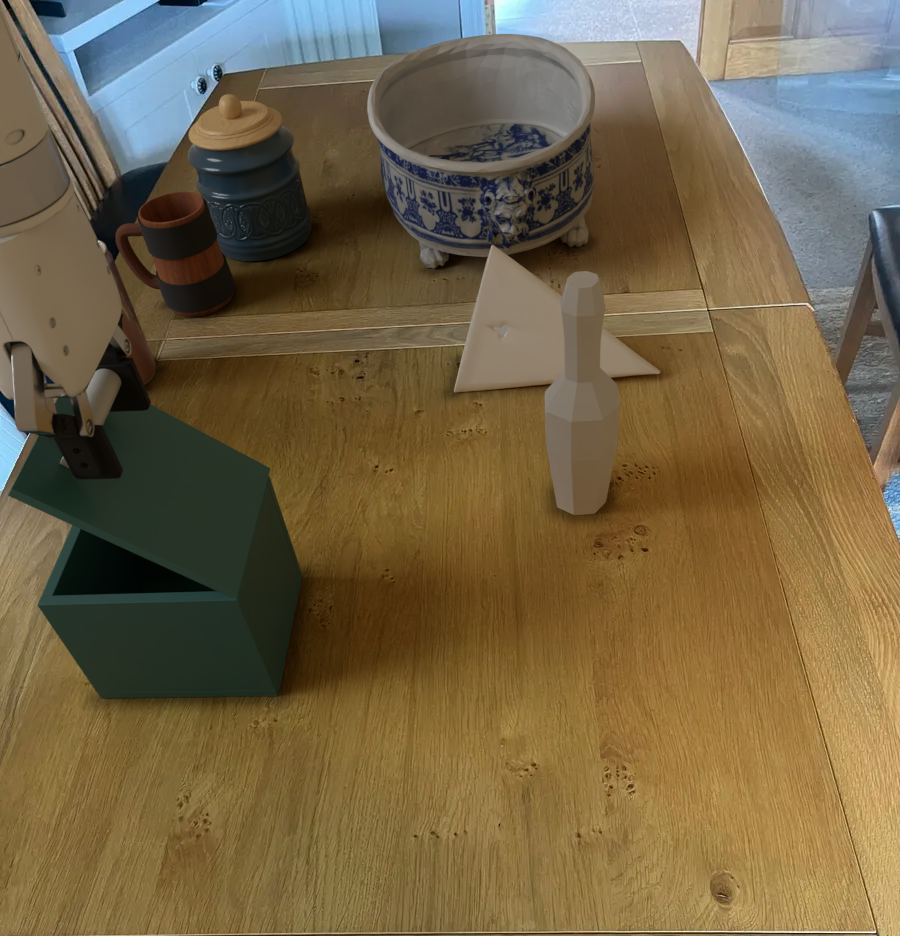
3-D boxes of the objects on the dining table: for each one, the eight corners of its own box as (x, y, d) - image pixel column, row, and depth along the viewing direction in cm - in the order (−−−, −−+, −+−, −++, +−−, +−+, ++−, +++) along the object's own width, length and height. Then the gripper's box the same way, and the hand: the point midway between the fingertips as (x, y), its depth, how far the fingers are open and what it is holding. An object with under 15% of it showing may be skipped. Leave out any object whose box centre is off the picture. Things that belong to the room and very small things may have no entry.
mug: (148, 285, 117) (113, 194, 108) (242, 277, 116) (214, 185, 107) (133, 324, 112) (95, 232, 103) (231, 316, 111) (201, 222, 102)
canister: (288, 268, 117) (251, 122, 103) (198, 259, 120) (151, 117, 107) (329, 215, 124) (300, 73, 111) (243, 209, 128) (205, 70, 114)
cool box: (100, 698, 76) (36, 605, 67) (142, 580, 84) (90, 482, 75) (278, 696, 74) (237, 600, 65) (302, 575, 82) (269, 475, 73)
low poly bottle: (606, 528, 82) (615, 308, 66) (537, 515, 84) (528, 298, 68) (623, 480, 86) (635, 260, 69) (556, 469, 88) (553, 252, 71)
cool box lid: (7, 495, 58) (31, 447, 55) (71, 371, 67) (95, 323, 63) (233, 598, 65) (266, 561, 62) (265, 473, 73) (296, 435, 70)
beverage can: (113, 362, 107) (58, 240, 96) (163, 359, 106) (114, 235, 95) (99, 395, 103) (40, 271, 92) (151, 392, 103) (98, 266, 91)
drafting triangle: (679, 287, 96) (493, 235, 94) (688, 300, 90) (491, 245, 89) (629, 423, 103) (456, 376, 102) (635, 442, 98) (453, 393, 97)
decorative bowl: (634, 277, 108) (641, 145, 96) (407, 318, 107) (387, 190, 95) (550, 125, 135) (548, 8, 124) (369, 156, 134) (350, 42, 123)
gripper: (-14, 111, 55) (100, 365, 69) (-151, 271, 44) (17, 535, 58) (108, 103, 54) (198, 361, 68) (0, 263, 43) (133, 532, 57)
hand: (114, 439), depth 63 cm, fingers closed on cool box lid, 6 cm apart
